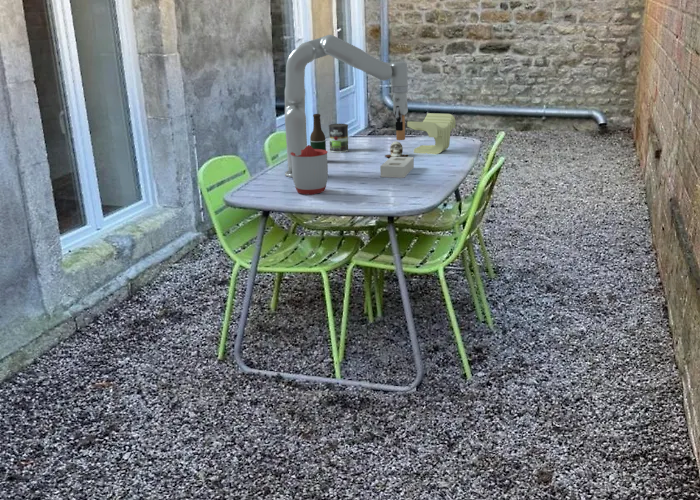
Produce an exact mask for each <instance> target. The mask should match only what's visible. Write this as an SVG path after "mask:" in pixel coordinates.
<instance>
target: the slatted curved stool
mask: <svg viewBox="0 0 700 500" xmlns="http://www.w3.org/2000/svg"><path fill="white" fill-rule="evenodd" d="M407 128H409V129H412V130H413V131H423V132H426V133H427V135H428V138H433V140H434V141H435V143H434V144H430V145H426V144H423V145H419V146H417V147H415V148H413V154H424V155H425V154H426V153H427V154H428V155H430V154H431V155H438V154H440V153H442V152H444V151H445V150H448V148H449V147H450V141H451V140H450V139H451V132H452V130H453V129H456V117H455V115H453V114H451V113H435V112H434V113H432V112H431V113H430V112H427V113H426V116H425V117H424V119H423V120H422V121H410V120H409V121H407Z"/></svg>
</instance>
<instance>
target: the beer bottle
mask: <svg viewBox="0 0 700 500" xmlns="http://www.w3.org/2000/svg"><path fill="white" fill-rule="evenodd" d="M312 117H313V129H312V132H311V134H310V136H309V137H310V138H309V143H310V144H309V145H310V146H311V147H312V148H313V149H322V150H326V151H327V148H326V147H327V145H326V144H327V142H326V135H325V133H324V132H323V130H322V126H321V125H322V124H321V114H320V113H314V114H313V115H312Z"/></svg>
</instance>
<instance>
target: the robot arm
mask: <svg viewBox="0 0 700 500" xmlns="http://www.w3.org/2000/svg"><path fill="white" fill-rule="evenodd" d="M326 56H330V57H332V58H334V59H336V60H338V61H340V62H343V63H345V64H346V65H348V66H350V67H352V68H354V69H357V70H360V71H362V72H364V73H366V74H368V75H370V76H372V77H374V78H376V79H379V80H381V81H387V80H390V82H391V83H390V84H391V85H390V88H391V94H393V95H392V97H393V99H392V101H393V103H392V104H393V105H392V106H393V109H392V110H393V115H394V116H395V131H402V130H403V122H402V115H406V114H407V113H409V112H408V111H409V109H408V108H409V107H408V96H407V94H408V93H409V87H408V84H409V83H408V82H409V81H408V79H409V78H408V64H407V62H405V61H394V62H385V61H382V60H380V59H378V58H376V57H375V56H372V55H371V54H369V53H367V52H366V51H364V50H363V49H362V48H359V47H357V46H355V45H353V44H351V43H350V42H347V41H345V40H343V39H341V38H339V37H337V36H335V35H333V34H327V35H324V36H322V37H319V38H315V39H311V40H309V41H308V40H307V41H305V42H302V43H300V44H299V46H298V47H296V48H295V49H293V50H292V52H291V53H290V54H289V56H288V57H287V61H286V65H285V87H284V125H285V126H284V127H285V128H284V129H285V141H286V157H287V171H285V172H284V175H285V176H286V177H289V178H293V175H292V163H291V152H293V153H295V156H299V155H301V150H304V149H305V148H306V147H307V146H308V139H307V138H308V137H307V117H306V88H305V87H306V86H305V77H306V76H305V73H306V71H305V70H306V66H307V65H308V64H309V63H311V62H313V61H314V60H316V59H321V58H323V57H326ZM399 114H401V115H399ZM399 116H400V117H399Z"/></svg>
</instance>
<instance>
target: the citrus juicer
mask: <svg viewBox="0 0 700 500" xmlns="http://www.w3.org/2000/svg"><path fill="white" fill-rule="evenodd" d="M328 153H329V152H328V150H327V149H326V150H322V149H313V148H312V147H311V146H310V144H309V145H308V144H307V147H306V148H305V149H304V150H301V155H299V156H295V153H293V152H291V163H292V175H293V177H292V179H293V183H294V186H295V187H294V188H295V189H296V191H297V193H298V194H301V195H311V196H312V195H315V194H321V193H323V192H325V191H326V188H327V183H328V178H329V177H328V175H329V166H328Z"/></svg>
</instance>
